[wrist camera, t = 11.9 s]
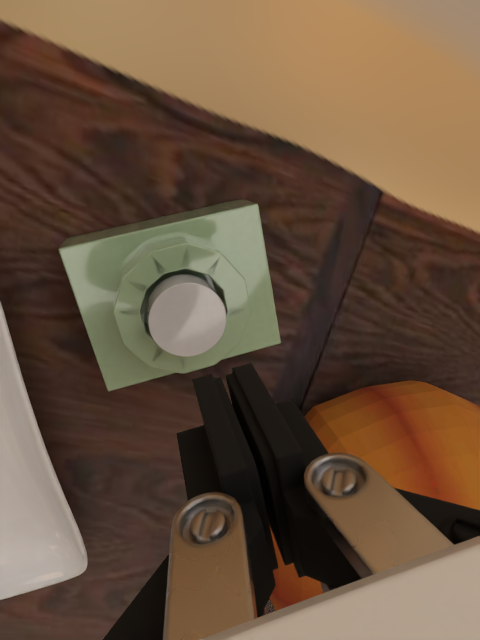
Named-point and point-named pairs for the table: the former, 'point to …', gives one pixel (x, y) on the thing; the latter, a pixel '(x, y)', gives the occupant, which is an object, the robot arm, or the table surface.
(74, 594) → the table surface
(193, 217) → the green knob base
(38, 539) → the salad plate
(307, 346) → the table surface
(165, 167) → the table surface
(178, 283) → the grey rotary knob
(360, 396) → the pumpkin
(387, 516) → the robot arm
